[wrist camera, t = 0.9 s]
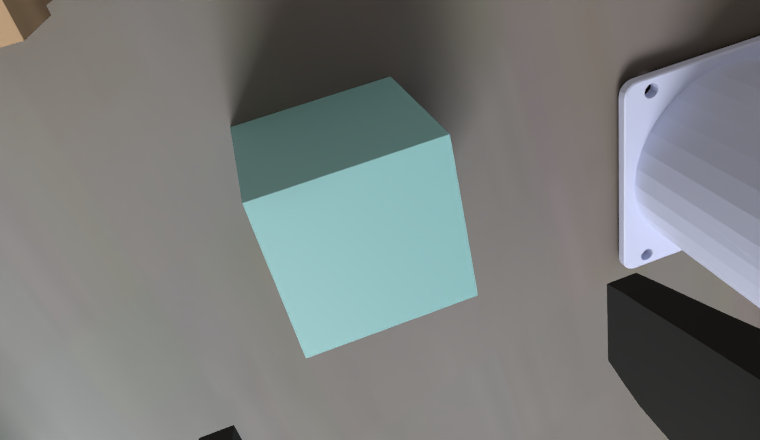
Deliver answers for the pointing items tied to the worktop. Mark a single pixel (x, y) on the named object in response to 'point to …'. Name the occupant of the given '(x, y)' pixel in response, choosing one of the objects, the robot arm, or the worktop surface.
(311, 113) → the teal cube
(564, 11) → the worktop surface
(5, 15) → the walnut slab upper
